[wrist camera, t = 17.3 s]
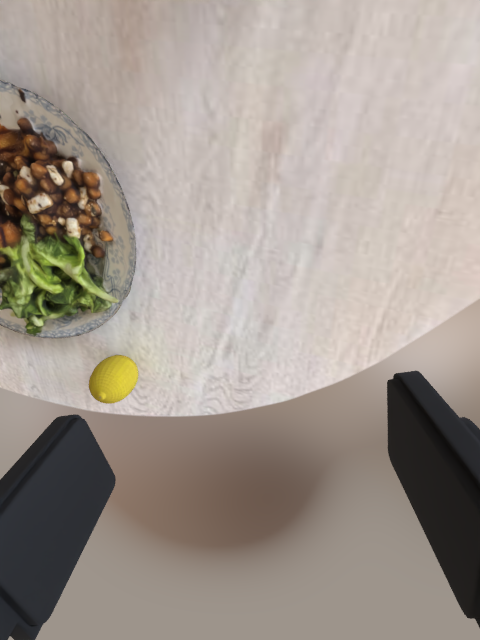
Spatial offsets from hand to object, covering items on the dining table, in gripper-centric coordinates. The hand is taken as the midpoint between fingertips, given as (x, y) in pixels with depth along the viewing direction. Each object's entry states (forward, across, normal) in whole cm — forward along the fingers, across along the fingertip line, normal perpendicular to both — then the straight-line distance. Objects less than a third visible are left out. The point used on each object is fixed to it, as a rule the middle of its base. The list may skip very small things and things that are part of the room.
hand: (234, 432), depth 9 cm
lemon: (+28, +21, +12) cm, 37 cm away
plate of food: (+28, +26, -8) cm, 39 cm away
